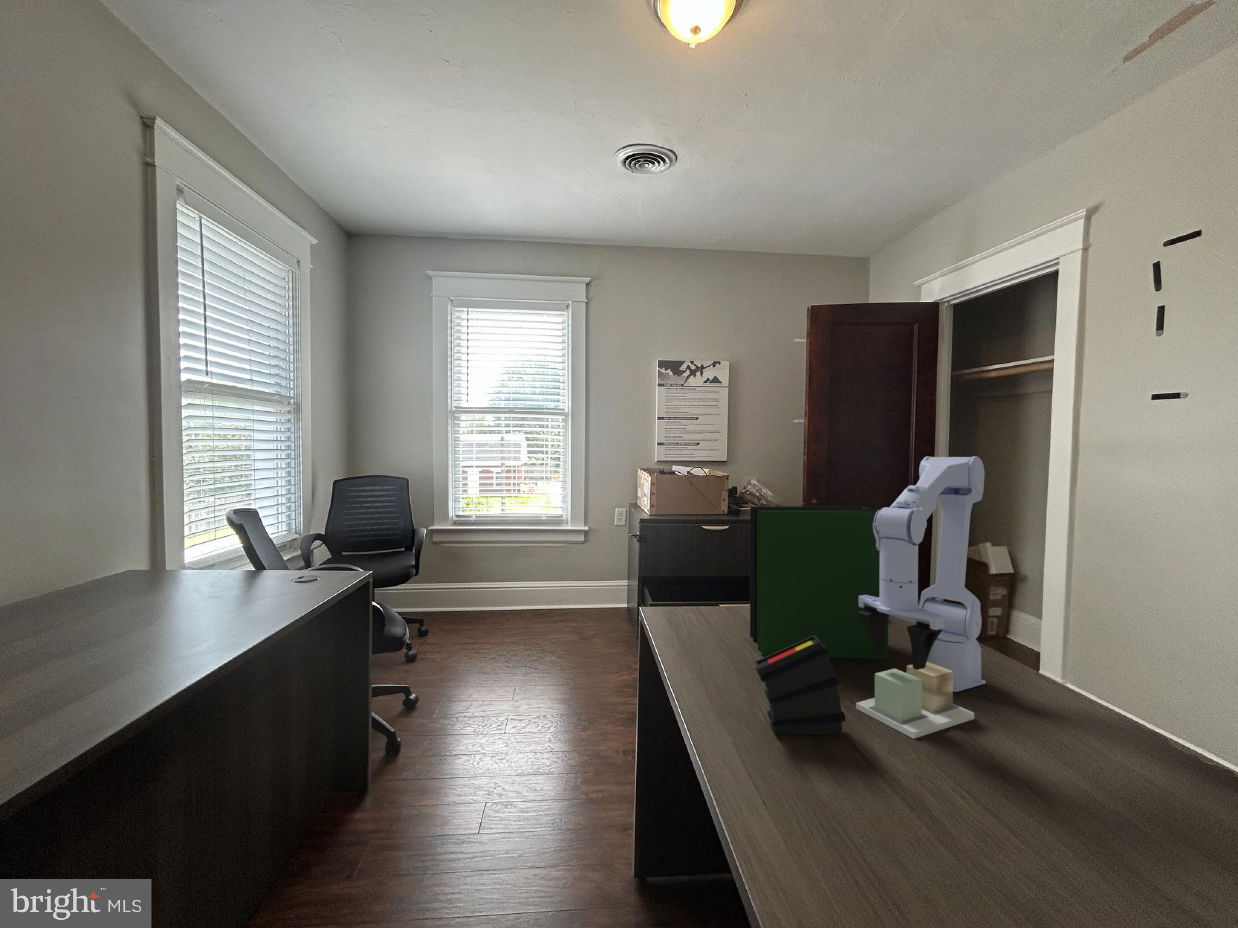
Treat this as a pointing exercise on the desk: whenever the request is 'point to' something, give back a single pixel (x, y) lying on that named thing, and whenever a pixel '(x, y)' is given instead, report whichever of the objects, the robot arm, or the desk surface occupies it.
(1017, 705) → the desk surface
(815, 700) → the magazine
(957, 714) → the board
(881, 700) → the sage post
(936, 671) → the wooden toy cube
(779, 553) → the binder
